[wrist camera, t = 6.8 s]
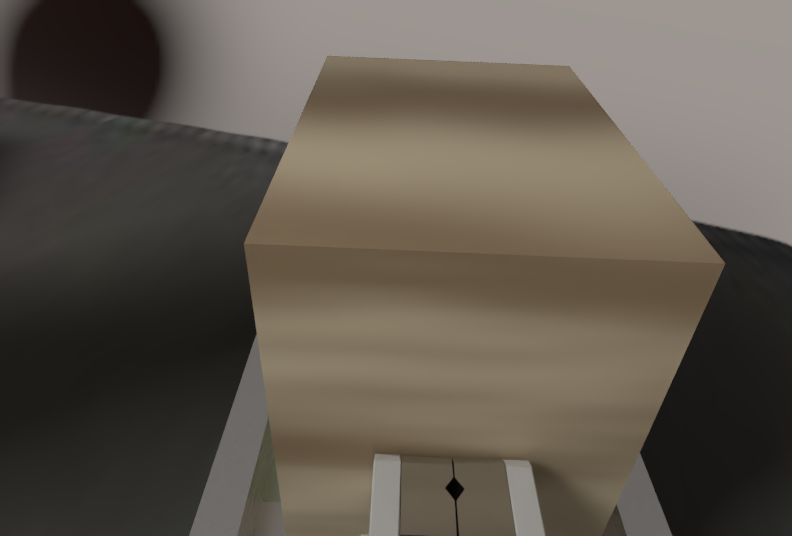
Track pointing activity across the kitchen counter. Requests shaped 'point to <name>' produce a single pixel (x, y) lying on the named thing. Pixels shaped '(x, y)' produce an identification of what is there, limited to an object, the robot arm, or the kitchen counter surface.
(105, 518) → the kitchen counter surface
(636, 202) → the block
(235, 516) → the bay
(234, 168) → the kitchen counter surface
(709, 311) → the kitchen counter surface
